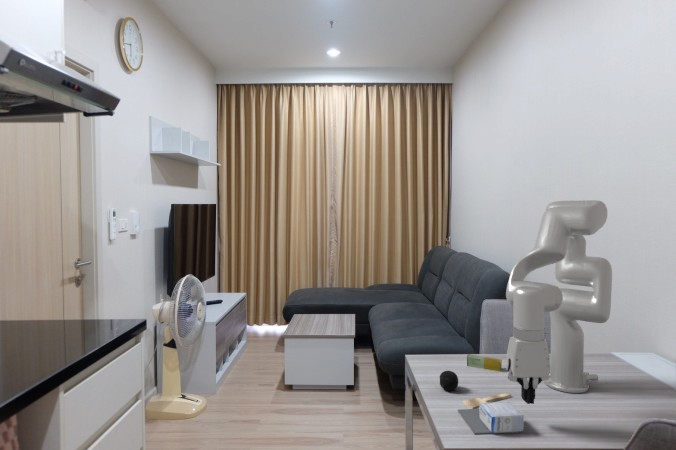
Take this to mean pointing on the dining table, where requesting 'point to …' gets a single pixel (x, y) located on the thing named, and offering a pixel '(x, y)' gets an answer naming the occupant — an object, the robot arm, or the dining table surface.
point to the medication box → (484, 362)
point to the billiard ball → (448, 380)
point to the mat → (476, 422)
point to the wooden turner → (485, 400)
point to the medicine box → (501, 417)
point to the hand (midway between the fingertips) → (528, 401)
